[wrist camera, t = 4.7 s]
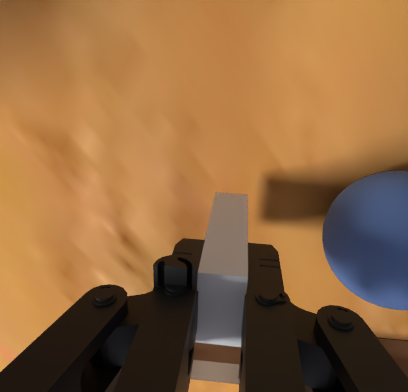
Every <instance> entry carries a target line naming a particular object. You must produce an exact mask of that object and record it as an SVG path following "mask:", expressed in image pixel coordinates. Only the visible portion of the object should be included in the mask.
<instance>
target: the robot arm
mask: <svg viewBox="0 0 408 392" xmlns="http://www.w3.org/2000/svg"><path fill="white" fill-rule="evenodd" d="M153 269H154V288H153V291H151V292H148V293H146V294H141V295H135V296H127V292H126V291H125V290H124V288H122V287H120V286H117V285H110V284H109V285H101V286H98V287H95V288H93V289H91V290H90V291H88V292H87V293H85V294H84V295H83V296H82V297H81V298H80V299H79V300H78V301H77V302H76V303H75V304H74V305H72V306H71V307H70V308H69V309H68V310H67V311H66V312H65V313H64V314H63V315H62V316H61V317H59V318H58V319H57V320H56V321H55V322H54V323H53V324H52V325H51V326H50V327H49V328H48V329H47V330H45V331H44V332H43V333H42V334H41V335H40V336H39V337H38V338H37V339H36V340H35V341H34V342H32V343H31V344H30V345H29V346H28V347H27V348H26V349H25V350H24V351H23V352H22V353H21V354H20V355H18V356H17V357H16V358H15V359H14V360H13V361H12V362H11V363H10V364H9V365H8V366H7V367H5V368H4V369H3V370H2V371H1V372H0V392H188V389H189V383H190V377H191V371H192V365H193V359H194V343H195V338H196V342H198V343H207V344H216V345H225V346H234V347H241V354H240V364H239V375H238V378H239V392H408V378H407V376H406V375H405V374H404V372H403V371H402V370H401V368H400V367H399V366H398V364H397V363H396V362H395V361H394V359H393V358H392V357H391V355H390V354H389V353H388V351H387V350H386V349H385V348H384V346H383V345H382V344H381V342H380V341H379V340H378V338H377V337H376V336H375V334H374V333H373V332H372V331H371V329H370V328H369V327H368V325H367V324H366V323H365V321H364V320H363V319H362V318H361V317H360V316H359V315H358V314H357V313H355V312H353V311H351V310H350V309H347V308H344V307H341V306H334V305H329V306H325V307H322V308H321V309H319V310H318V312H317V314H315V313H312V312H309V311H306V310H303V309H301V308H299V307H297V306H295V305H294V304H292V303H291V302H290V299H289V297H288V295H287V294H286V293H285V292H284V286H283V280H282V274H281V268H280V262H279V255H278V252H277V250H276V249H275V248H274V247H273V246H272V245H267V244H255V243H248V200H247V195H246V194H232V193H218V192H216V193H215V197H214V202H213V206H212V211H211V215H210V220H209V224H208V229H207V233H206V238H205V240H197V239H185V238H183V239H182V240H181V241H179V242H178V243H177V244H176V245H175V248H174V250H173V253H172V255H169V256H165V257H162V258H160V259H158V260H157V261H156V262H155V263H154V264H153Z"/></svg>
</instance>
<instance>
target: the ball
mask: <svg viewBox="0 0 408 392" xmlns="http://www.w3.org/2000/svg"><path fill="white" fill-rule="evenodd" d="M322 240H323V247H324V252H325V255H326V259H327V261H328V263H329V265H330V267H331V269H332V271H333V272H334V274H335V275H336V276H337V278H338V279H339V280H340V281H341V282H342V284H343V285H344V286H346V287H347V288H348V289H349V290H350V291H351V292H353V293H354V294H355V295H357V296H358V297H360V298H362V299H364V300H365V301H368V302H370V303H372V304H375V305H378V306H381V307H385V308H389V309H395V310H408V171H384V172H379V173H374V174H371V175H369V176H366V177H363V178H361V179H359V180H357V181H355V182H354V183H352V184H350V185H349V186H348V187H346V188H345V189H344V190H343V191H342V192H341V193H340V194H339V195H338V196H337V197H336V199H335V200H334V201H333V203H332V204H331V206H330V208H329V210H328V212H327V214H326V217H325V221H324V225H323V238H322Z"/></svg>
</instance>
